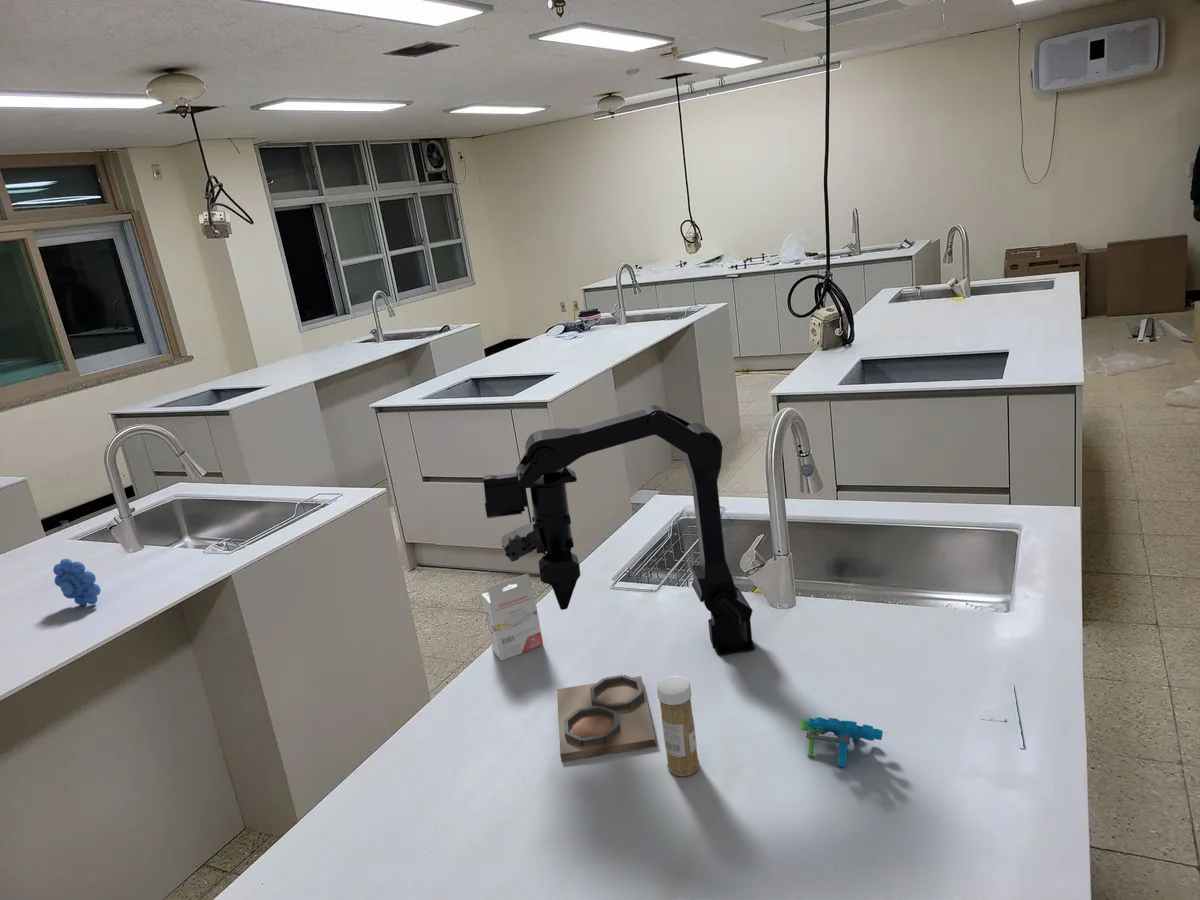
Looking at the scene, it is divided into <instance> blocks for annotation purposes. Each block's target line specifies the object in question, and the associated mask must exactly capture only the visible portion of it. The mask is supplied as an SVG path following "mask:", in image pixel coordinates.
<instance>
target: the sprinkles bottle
mask: <svg viewBox="0 0 1200 900" xmlns="http://www.w3.org/2000/svg"><path fill="white" fill-rule="evenodd" d="M691 687H692V686H691V682H690V681H689V679H687V677H684V676H680V675H669V676H665V677H664V678H661V679H660V680H659V681H658V682H657V685H656V692H657V698H658V701H659V703H660V704H659V706H660V713H661V724H662V732H663V739H664V740H663V741H664V747H665V752H666V760H667V764H666V765H667V770H668V772H670V773H671V775H672V774H673V775H674V776H679V777H687V776H691V775H693V774H695V773H696V772H697V771H698V770H699V767H700V760H699V756H698V749H697V745H698V744H697V739H696V738H697V737H696V732H695V731H696V729H695V722H694V721H695V720H694V715H693V708H692V700H691V699H692V688H691Z"/></svg>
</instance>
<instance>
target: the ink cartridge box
mask: <svg viewBox="0 0 1200 900" xmlns="http://www.w3.org/2000/svg"><path fill="white" fill-rule="evenodd" d="M535 597H536V596H535V592H534V589H533V586H532V582H531V577H530V574H529V573H525V574H522V575H519V576H515V577H513V578H509V579H507V580H503V581H500V582H498V583H495V584H493V585H489V586H488V587H487V592H484V593H481V600H482V606H483V611H484V615H485V620H486V625H487V631H488V635H489V641H490V644H491V649H492V652H493V653H494V654H495V655H496V657H498V658H499V659H500V661H505V660H507V659H511V658H514V657H515V656H518V655H521V654H524V653H526V652H528V651H531V650H534V649H537V648H540V647H541V646H544V640H543V635H542V631H541V625H540V619H539V613H538V607H537V602H536V598H535ZM492 645H493V646H492Z"/></svg>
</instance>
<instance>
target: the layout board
mask: <svg viewBox="0 0 1200 900" xmlns="http://www.w3.org/2000/svg"><path fill="white" fill-rule="evenodd" d="M644 687H645V686H644V682H643V677H642V676H641V675H640V676H629V675H626V674H624V675H623V674H619V675H612V676H605V677H603V678H602V679H600V680H598V681H597V682H594V683H587V684H581V685H575V686H569V687H563V688H562V687H561V688H557V689H556V692H557V693H556V694H557V695H556V697H557V715H558V716H557V717H558V720H557V721H558V733H559V734H558V735H559V736H558V738H559V755H560V759H561V760H560V761H561V762H564V761H571V760H577V759H583V758H589V757H596V756H603V755H609V754H614V753H615V754H616V753H619V752H620V753H622V752H626V751H627V752H628V751H632V750H633V751H634V750H641V749H646V748H651V747H653V748H654V747H657V739H656V735H655V730H654V727H653V726H654V725H653V721H652V717H651V714H650V710H649V709H650V708H649V704H648V700H647V699H648V698H647V695H646V692H645V688H644Z"/></svg>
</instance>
